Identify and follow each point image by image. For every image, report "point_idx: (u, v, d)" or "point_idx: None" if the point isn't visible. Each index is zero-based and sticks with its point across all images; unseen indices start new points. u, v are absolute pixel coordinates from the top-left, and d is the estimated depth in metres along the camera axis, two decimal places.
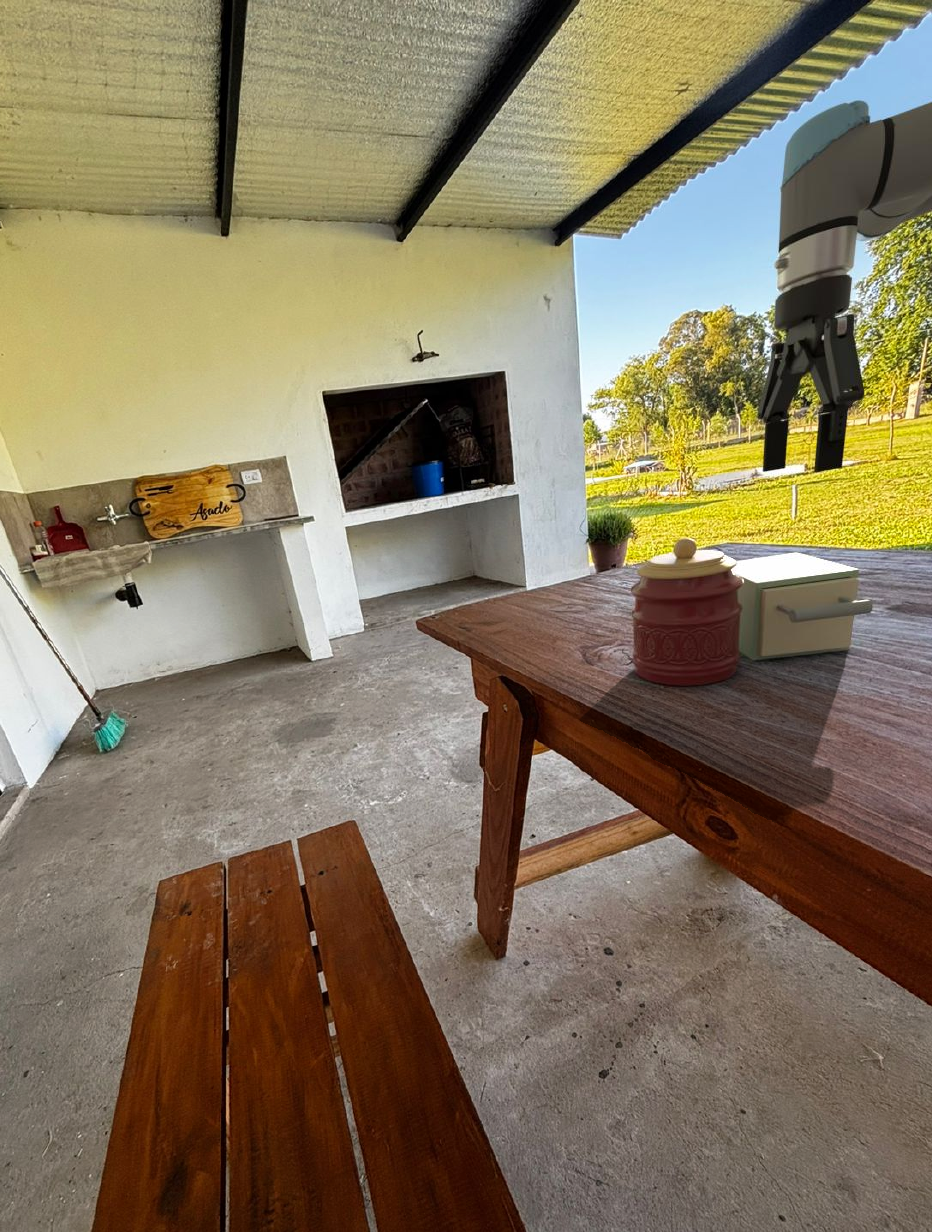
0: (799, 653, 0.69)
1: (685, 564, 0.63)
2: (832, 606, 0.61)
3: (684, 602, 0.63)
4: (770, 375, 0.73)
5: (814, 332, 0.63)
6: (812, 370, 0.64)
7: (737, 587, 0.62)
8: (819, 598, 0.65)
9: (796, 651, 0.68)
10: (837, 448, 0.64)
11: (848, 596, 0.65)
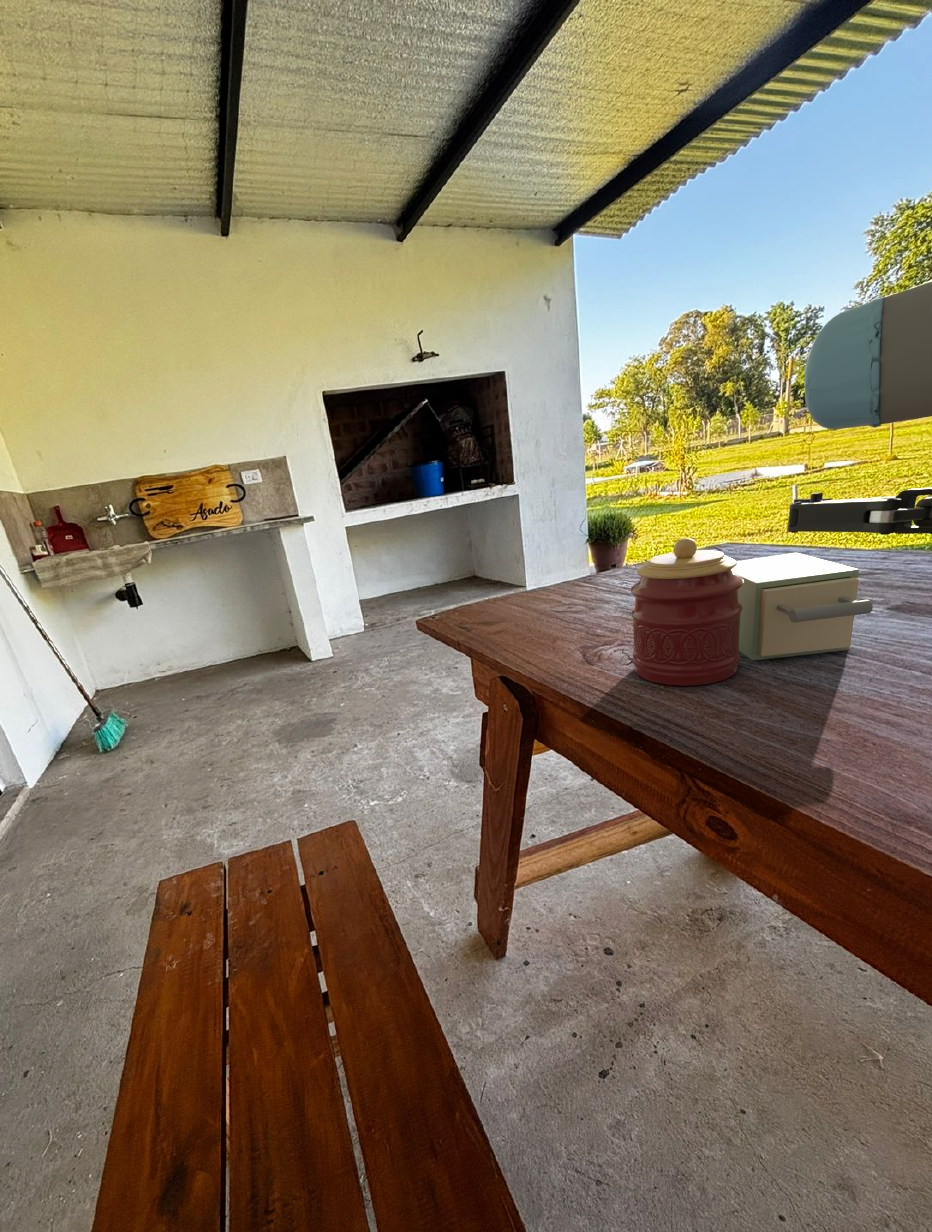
0: (799, 653, 0.69)
1: (685, 564, 0.63)
2: (832, 606, 0.61)
3: (684, 602, 0.63)
4: None
5: None
6: None
7: (737, 587, 0.62)
8: (819, 598, 0.65)
9: (796, 651, 0.68)
10: None
11: (848, 596, 0.65)
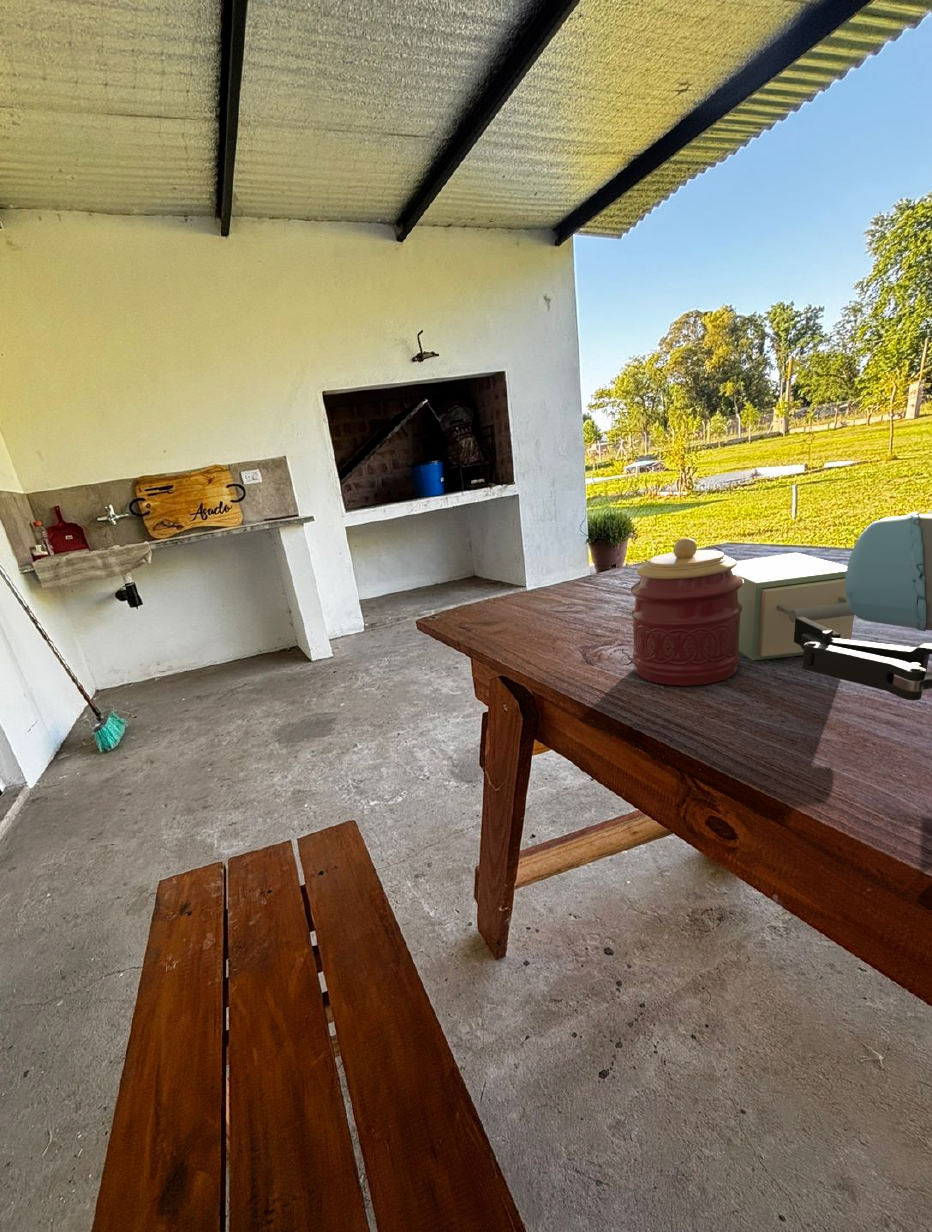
0: (799, 653, 0.69)
1: (685, 564, 0.63)
2: (832, 606, 0.61)
3: (684, 602, 0.63)
4: None
5: None
6: None
7: (737, 587, 0.62)
8: (819, 598, 0.65)
9: (796, 651, 0.68)
10: None
11: None
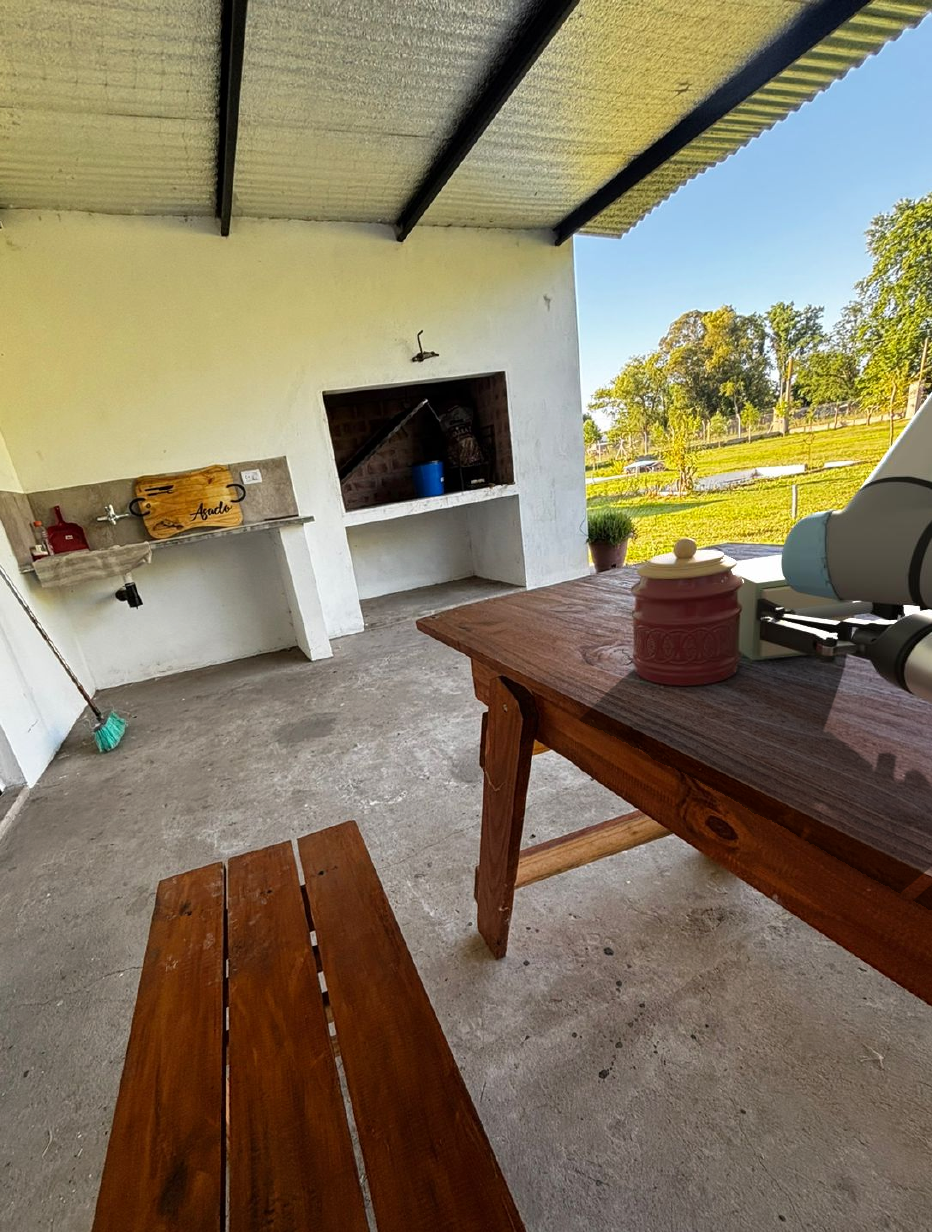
0: (799, 653, 0.69)
1: (685, 564, 0.63)
2: (832, 606, 0.61)
3: (684, 602, 0.63)
4: None
5: None
6: None
7: (737, 587, 0.62)
8: (819, 598, 0.65)
9: (796, 651, 0.68)
10: None
11: None
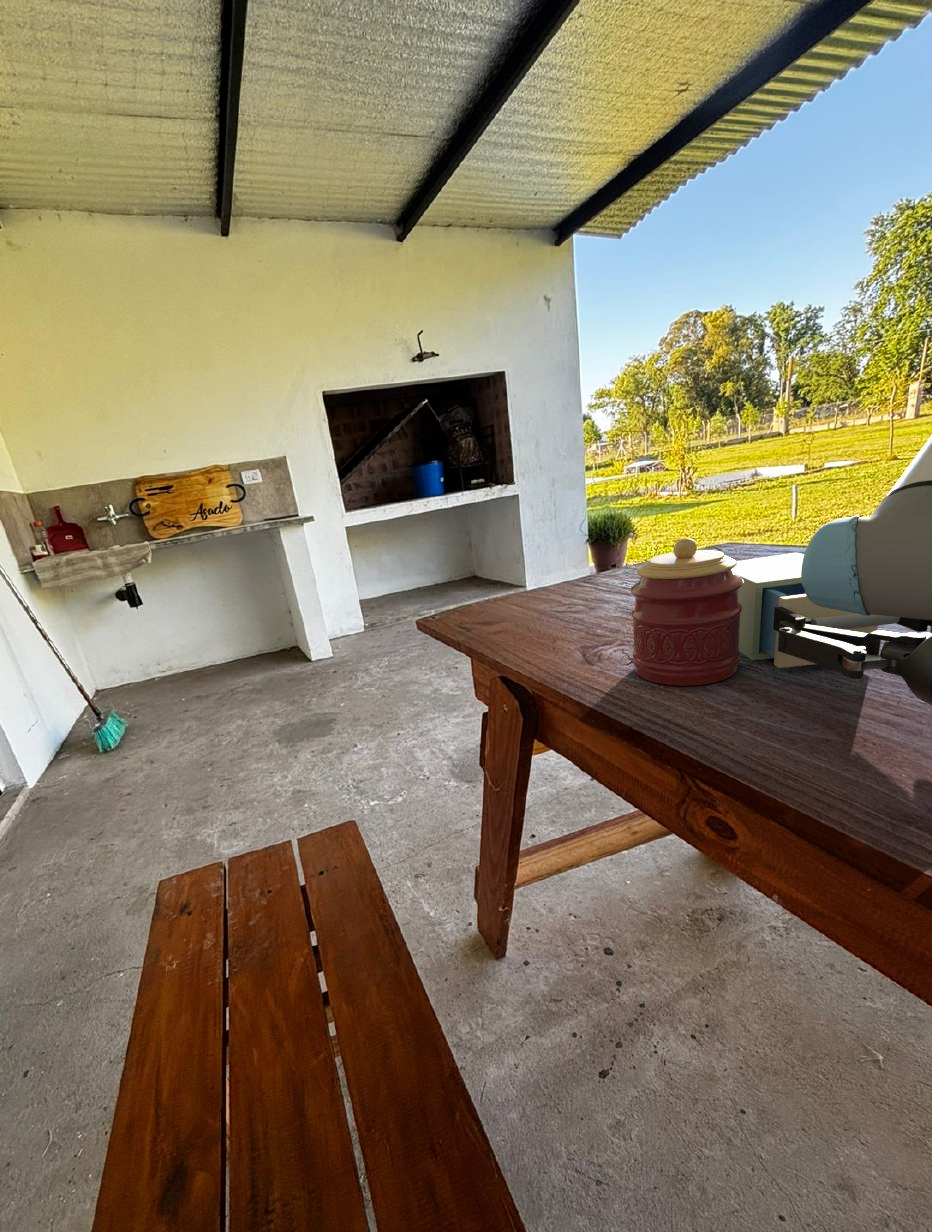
0: None
1: (685, 564, 0.63)
2: (856, 616, 0.57)
3: (684, 602, 0.63)
4: None
5: None
6: None
7: (737, 587, 0.62)
8: None
9: None
10: None
11: None
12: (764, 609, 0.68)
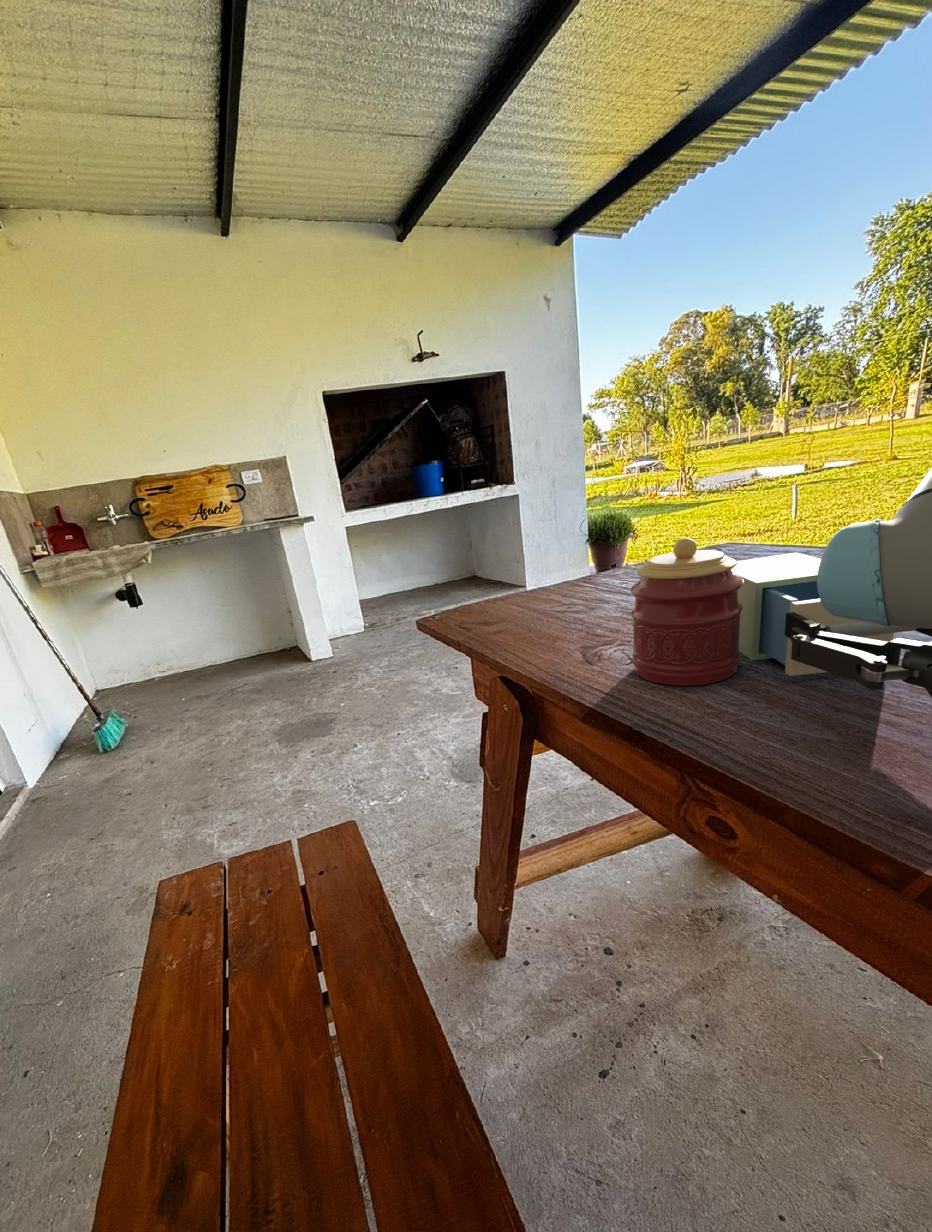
0: None
1: (685, 564, 0.63)
2: (872, 623, 0.55)
3: (684, 602, 0.63)
4: None
5: None
6: None
7: (737, 587, 0.62)
8: None
9: None
10: None
11: None
12: (774, 614, 0.66)
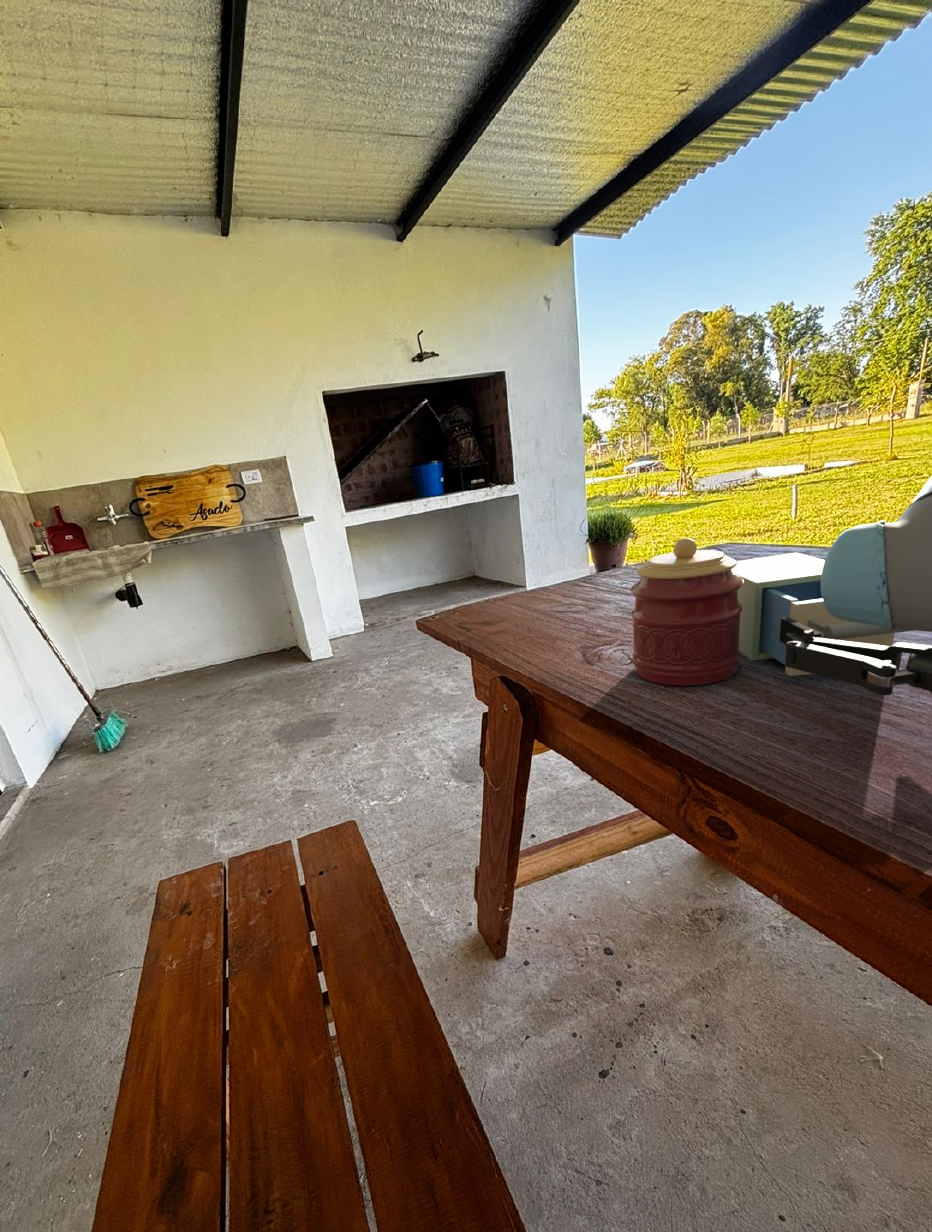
0: None
1: (685, 564, 0.63)
2: None
3: (684, 602, 0.63)
4: None
5: None
6: None
7: (737, 587, 0.62)
8: None
9: None
10: None
11: None
12: (775, 614, 0.66)
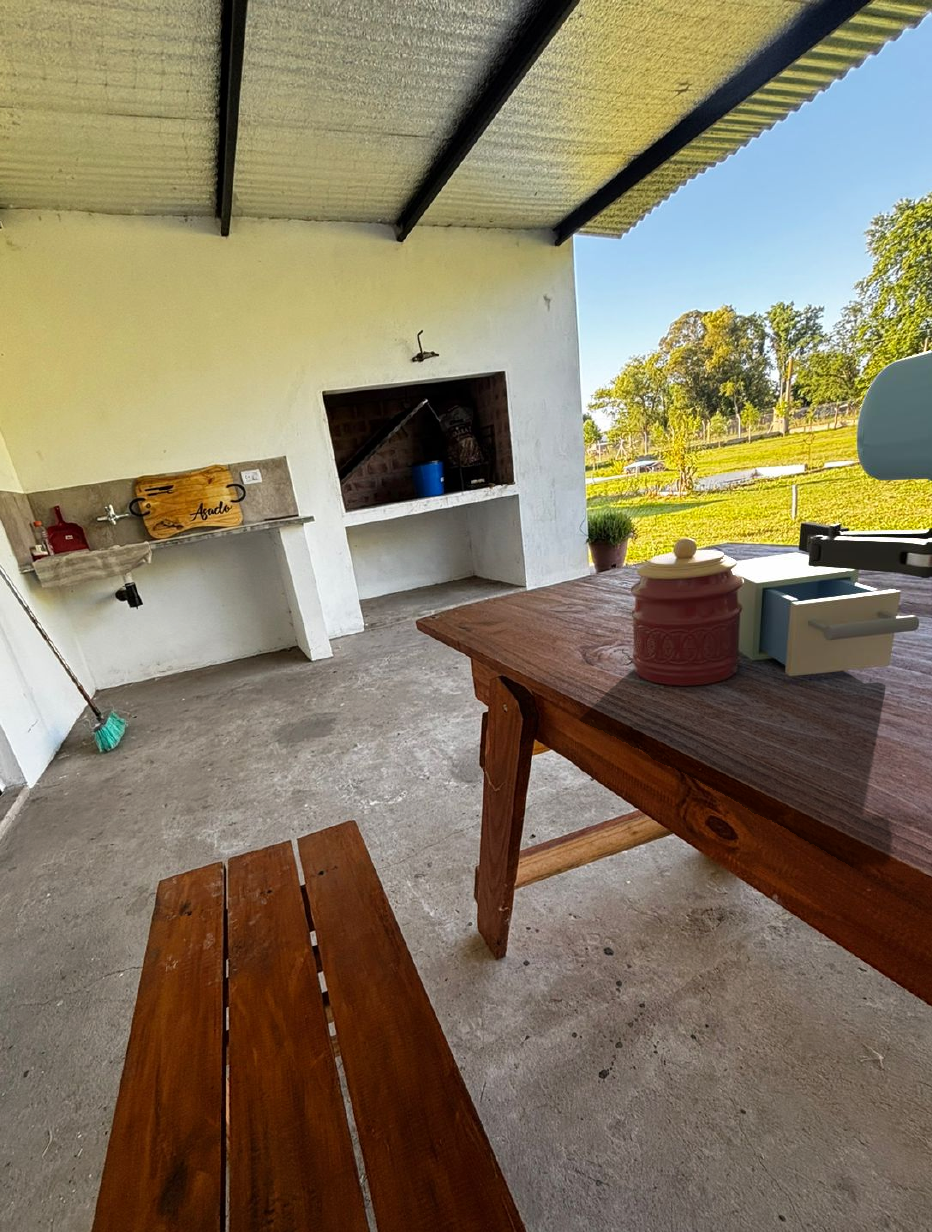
0: None
1: (685, 564, 0.63)
2: (873, 623, 0.55)
3: (684, 602, 0.63)
4: None
5: None
6: None
7: (737, 587, 0.62)
8: (856, 612, 0.59)
9: (829, 670, 0.62)
10: None
11: (888, 610, 0.58)
12: (775, 614, 0.66)
